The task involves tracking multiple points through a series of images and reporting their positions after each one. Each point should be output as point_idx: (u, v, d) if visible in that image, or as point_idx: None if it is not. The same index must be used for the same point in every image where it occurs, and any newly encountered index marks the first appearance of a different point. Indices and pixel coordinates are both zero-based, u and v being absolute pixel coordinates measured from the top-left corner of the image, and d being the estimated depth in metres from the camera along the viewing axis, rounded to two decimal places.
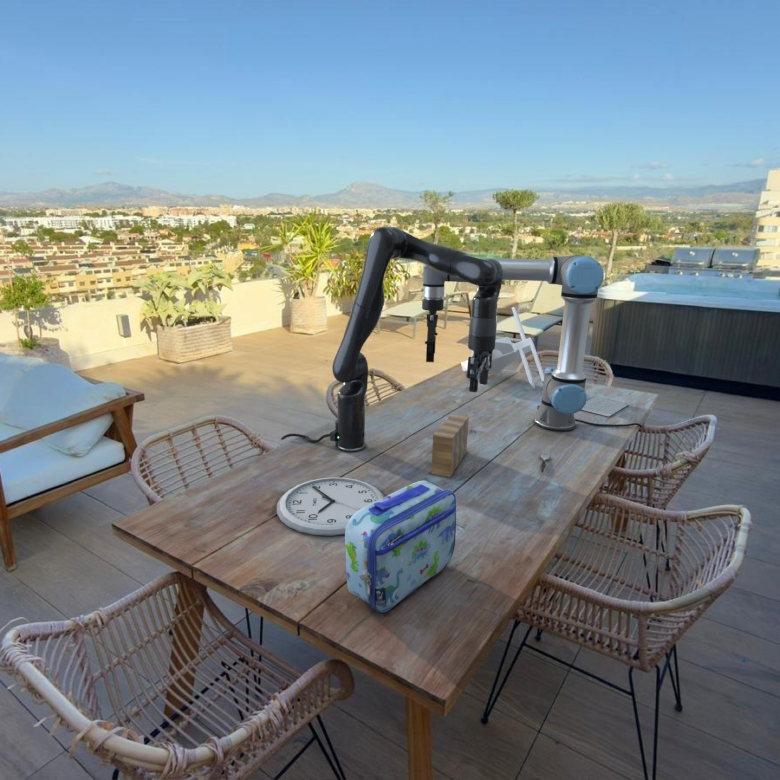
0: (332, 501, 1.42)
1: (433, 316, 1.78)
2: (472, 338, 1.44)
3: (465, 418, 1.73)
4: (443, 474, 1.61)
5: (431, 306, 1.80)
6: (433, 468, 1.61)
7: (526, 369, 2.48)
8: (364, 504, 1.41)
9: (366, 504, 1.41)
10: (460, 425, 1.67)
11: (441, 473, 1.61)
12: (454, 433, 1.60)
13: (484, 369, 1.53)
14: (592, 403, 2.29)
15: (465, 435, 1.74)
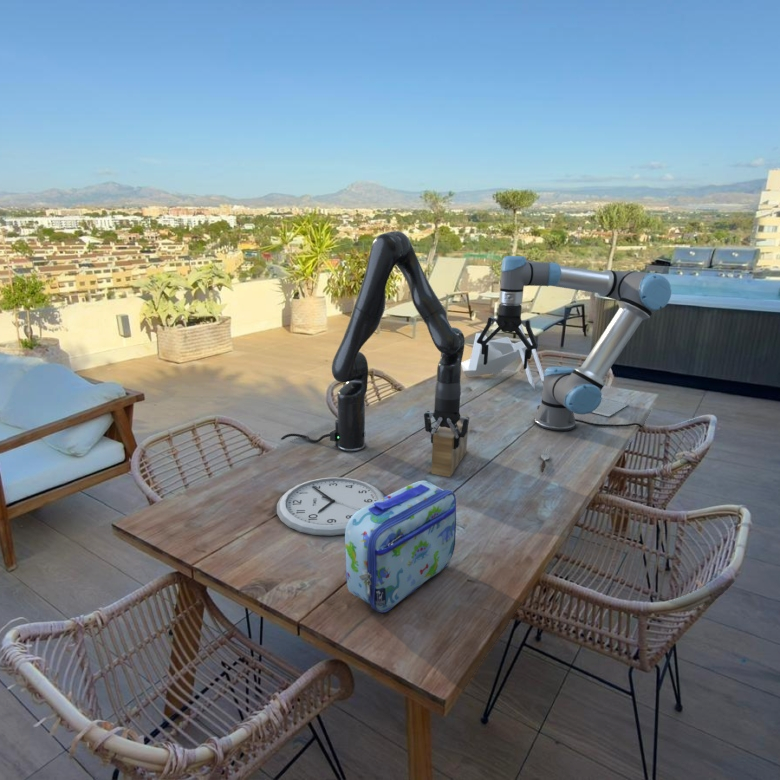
0: (332, 501, 1.42)
1: (529, 321, 1.73)
2: (457, 401, 1.54)
3: None
4: (443, 474, 1.61)
5: (520, 312, 1.72)
6: (433, 468, 1.61)
7: (526, 369, 2.48)
8: (364, 504, 1.41)
9: (366, 504, 1.41)
10: (460, 425, 1.67)
11: (441, 473, 1.61)
12: None
13: None
14: None
15: (465, 435, 1.73)
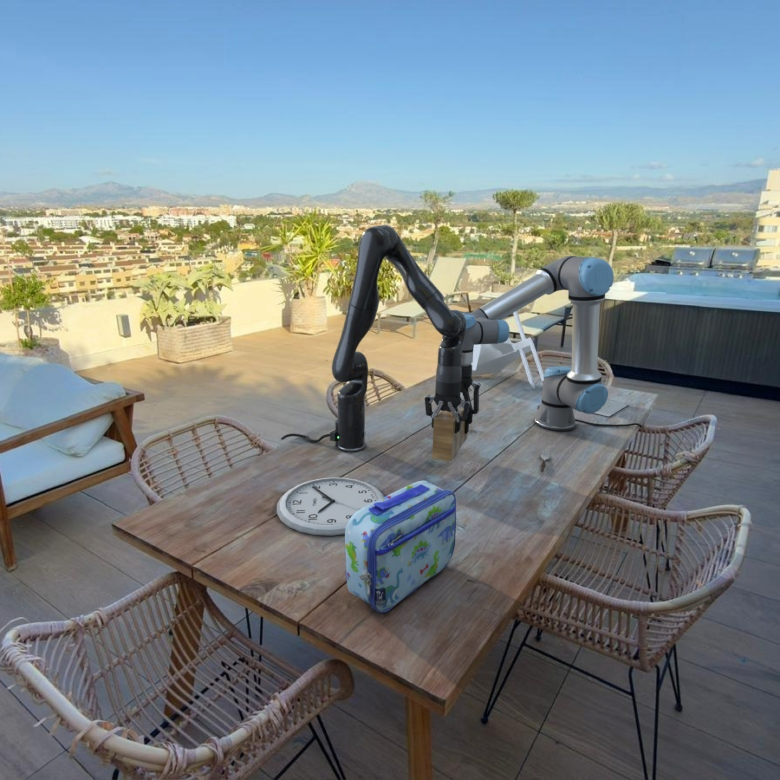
0: (332, 501, 1.42)
1: (480, 385, 1.67)
2: (458, 384, 1.53)
3: None
4: (444, 459, 1.59)
5: (471, 372, 1.66)
6: (434, 453, 1.60)
7: (526, 369, 2.48)
8: (364, 504, 1.41)
9: (366, 504, 1.41)
10: (461, 410, 1.65)
11: (442, 458, 1.59)
12: None
13: None
14: None
15: None
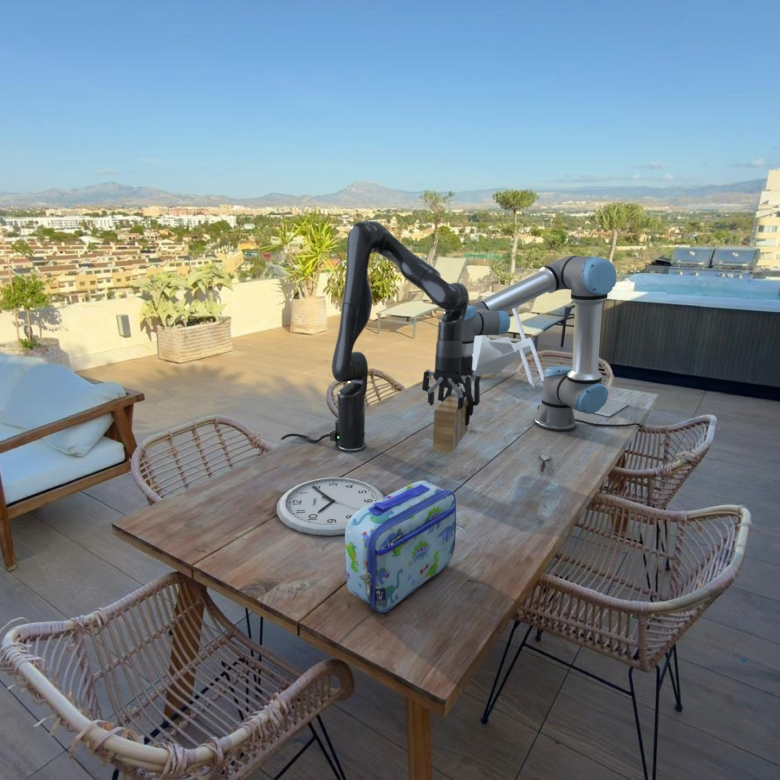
0: (332, 501, 1.42)
1: (480, 376, 1.66)
2: (458, 360, 1.48)
3: None
4: (445, 450, 1.58)
5: (471, 363, 1.65)
6: (434, 444, 1.59)
7: (526, 369, 2.48)
8: (364, 504, 1.41)
9: (366, 504, 1.41)
10: None
11: (442, 449, 1.59)
12: (456, 408, 1.58)
13: None
14: None
15: None
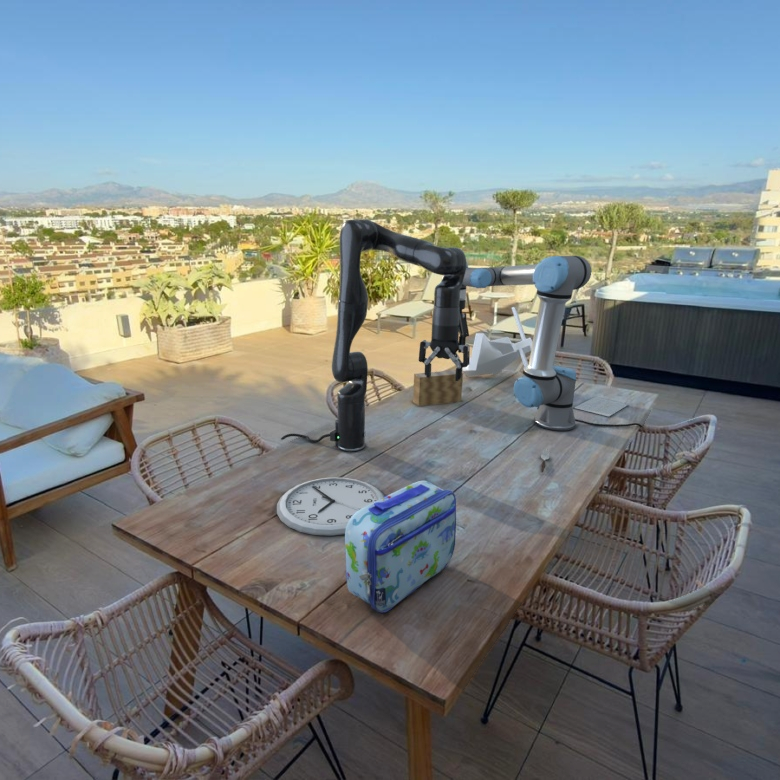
0: (332, 501, 1.42)
1: (464, 314, 2.14)
2: (456, 328, 1.42)
3: None
4: (416, 403, 2.25)
5: (459, 306, 2.16)
6: (413, 398, 2.27)
7: None
8: (364, 504, 1.41)
9: (366, 504, 1.41)
10: (444, 374, 2.24)
11: (416, 402, 2.25)
12: None
13: None
14: (592, 403, 2.29)
15: (456, 386, 2.27)
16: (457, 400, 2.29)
